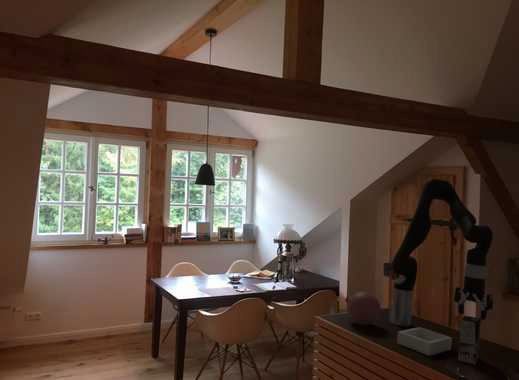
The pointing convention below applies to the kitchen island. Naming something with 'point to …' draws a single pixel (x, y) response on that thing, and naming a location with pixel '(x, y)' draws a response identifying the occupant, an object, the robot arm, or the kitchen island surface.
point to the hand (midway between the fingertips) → (471, 316)
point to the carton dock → (424, 341)
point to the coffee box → (469, 339)
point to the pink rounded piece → (363, 308)
